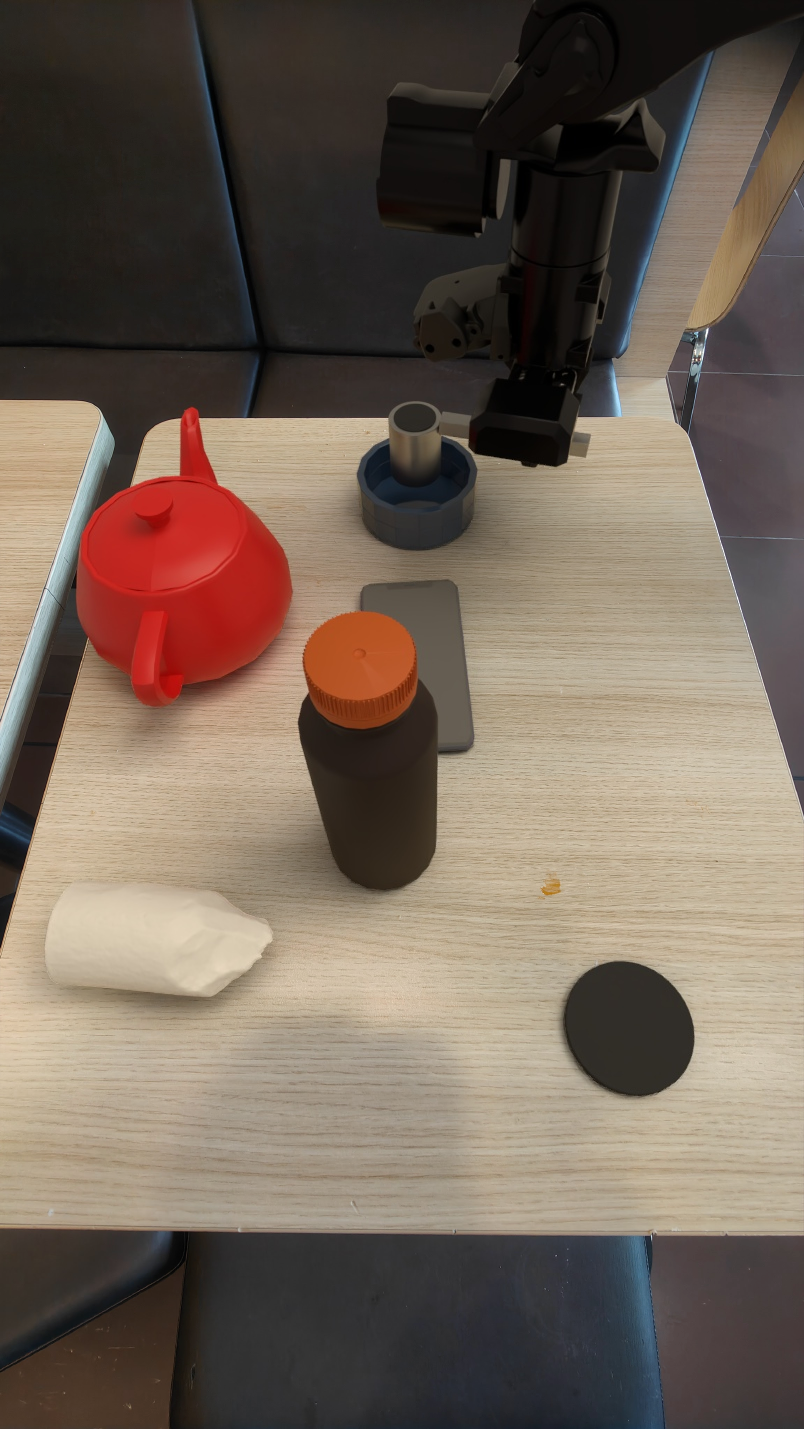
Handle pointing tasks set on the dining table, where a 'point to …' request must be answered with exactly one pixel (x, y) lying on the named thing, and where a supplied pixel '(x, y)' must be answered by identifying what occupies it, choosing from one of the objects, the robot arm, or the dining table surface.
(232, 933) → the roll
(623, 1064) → the coaster
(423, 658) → the smartphone
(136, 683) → the teapot
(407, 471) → the scoop
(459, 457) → the bowl
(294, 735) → the dining table surface
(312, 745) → the bottle
